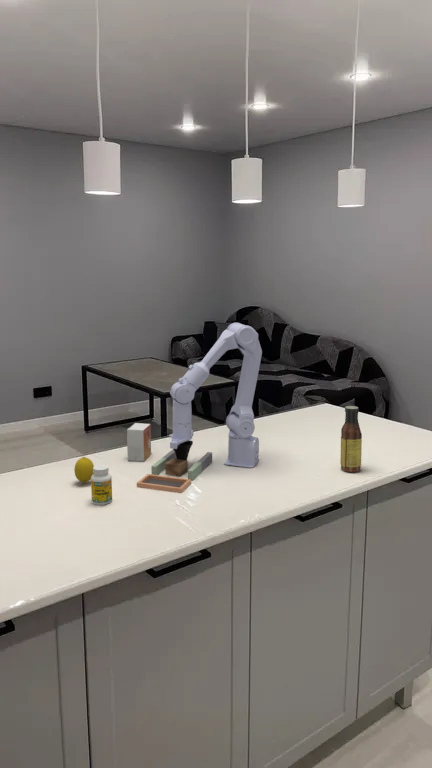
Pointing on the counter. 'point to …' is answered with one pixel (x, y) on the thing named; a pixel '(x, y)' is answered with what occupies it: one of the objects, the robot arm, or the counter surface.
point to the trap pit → (164, 483)
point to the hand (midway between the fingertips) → (182, 464)
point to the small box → (139, 442)
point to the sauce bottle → (351, 441)
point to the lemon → (84, 469)
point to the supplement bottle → (101, 485)
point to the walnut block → (176, 467)
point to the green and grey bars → (192, 472)
